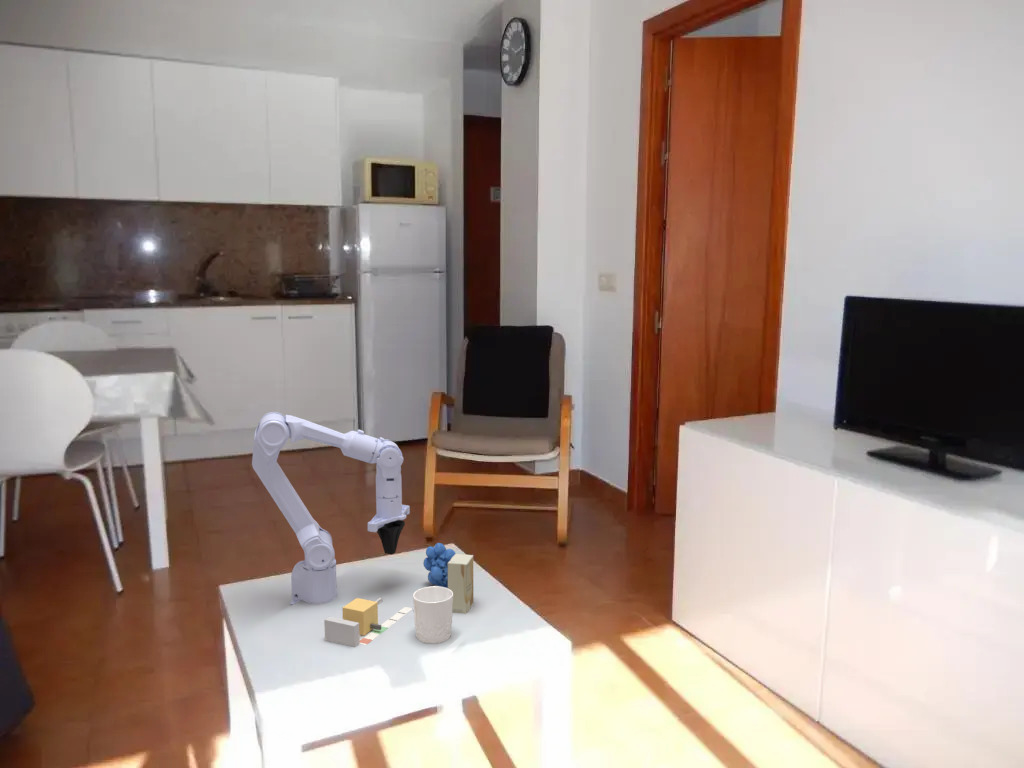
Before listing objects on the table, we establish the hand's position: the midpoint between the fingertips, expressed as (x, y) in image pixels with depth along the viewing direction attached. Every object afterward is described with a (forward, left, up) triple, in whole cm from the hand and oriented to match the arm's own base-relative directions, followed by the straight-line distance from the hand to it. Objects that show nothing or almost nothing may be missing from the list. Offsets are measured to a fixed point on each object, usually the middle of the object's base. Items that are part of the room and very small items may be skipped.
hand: (390, 553), depth 173 cm
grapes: (+11, +4, -10) cm, 15 cm away
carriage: (+6, -19, -8) cm, 22 cm away
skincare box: (+19, -2, -10) cm, 22 cm away
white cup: (+20, -16, -10) cm, 28 cm away
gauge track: (+5, -16, -10) cm, 19 cm away
